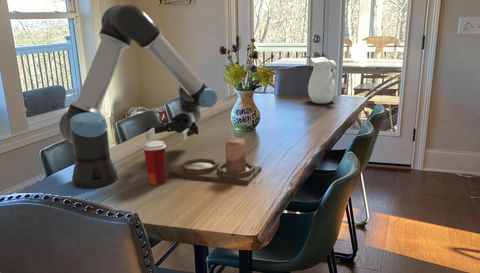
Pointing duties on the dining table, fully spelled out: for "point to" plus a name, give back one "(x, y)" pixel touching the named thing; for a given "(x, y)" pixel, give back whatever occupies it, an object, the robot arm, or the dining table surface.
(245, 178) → the wooden cup holder tray
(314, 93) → the pitcher
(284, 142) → the dining table surface
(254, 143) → the dining table surface
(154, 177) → the paper cup
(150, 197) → the dining table surface
